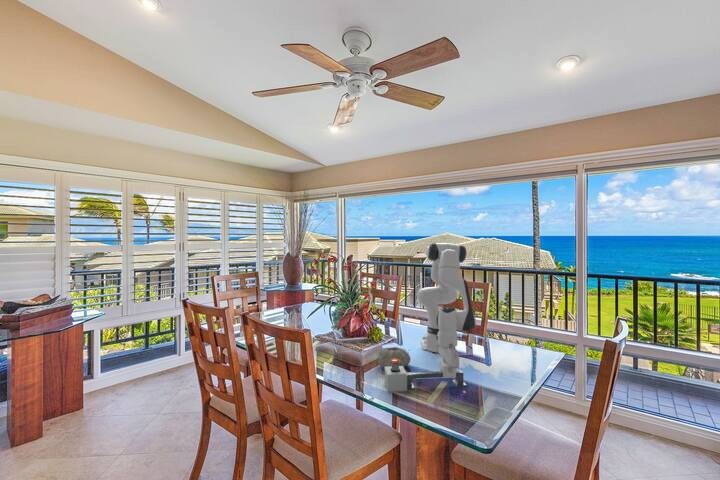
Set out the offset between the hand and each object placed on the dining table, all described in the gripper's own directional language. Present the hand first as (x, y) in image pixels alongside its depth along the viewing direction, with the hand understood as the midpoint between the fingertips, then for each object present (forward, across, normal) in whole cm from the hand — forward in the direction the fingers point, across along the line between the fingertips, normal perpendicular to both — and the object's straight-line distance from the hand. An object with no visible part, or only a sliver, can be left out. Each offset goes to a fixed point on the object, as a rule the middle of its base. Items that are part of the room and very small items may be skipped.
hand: (448, 369), depth 155 cm
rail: (+7, 0, +7) cm, 10 cm away
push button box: (+7, 0, +26) cm, 26 cm away
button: (+1, 0, +25) cm, 26 cm away
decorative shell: (+7, +23, +22) cm, 33 cm away
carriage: (+3, 0, 0) cm, 3 cm away
